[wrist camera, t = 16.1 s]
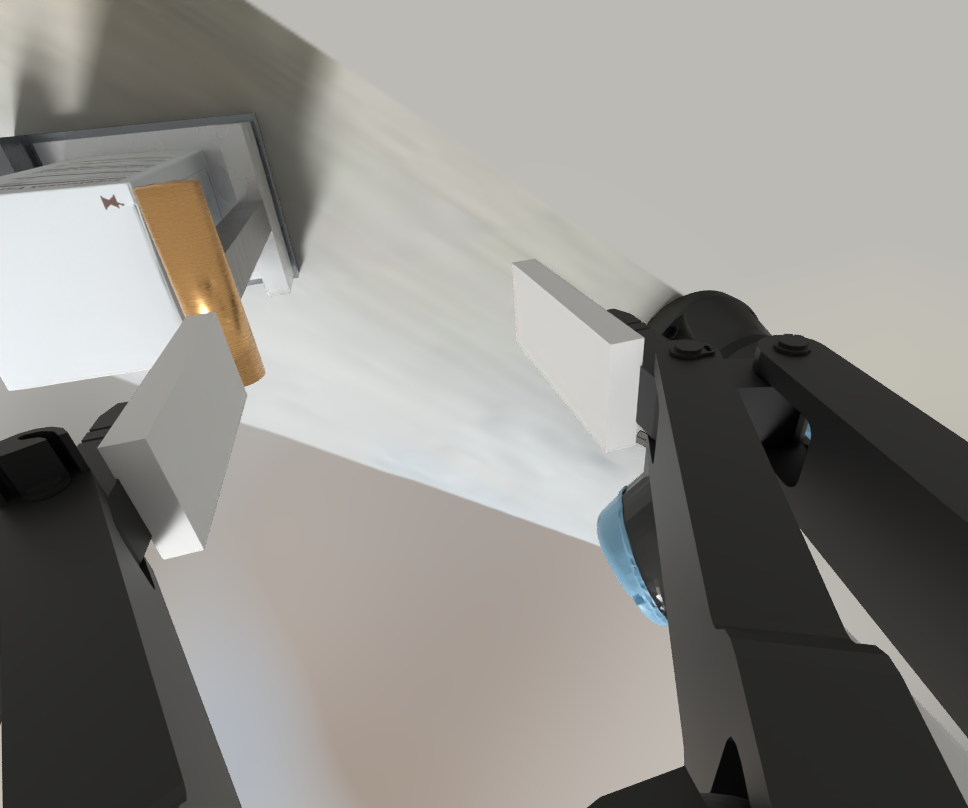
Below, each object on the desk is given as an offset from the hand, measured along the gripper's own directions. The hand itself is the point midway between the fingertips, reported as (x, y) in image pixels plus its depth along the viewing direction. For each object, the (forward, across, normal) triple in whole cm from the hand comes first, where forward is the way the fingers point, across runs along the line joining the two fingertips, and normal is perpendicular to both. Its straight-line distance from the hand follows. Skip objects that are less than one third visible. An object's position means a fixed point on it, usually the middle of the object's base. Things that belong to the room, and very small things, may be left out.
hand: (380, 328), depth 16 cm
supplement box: (+30, -14, 0) cm, 33 cm away
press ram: (+29, -6, 0) cm, 30 cm away
